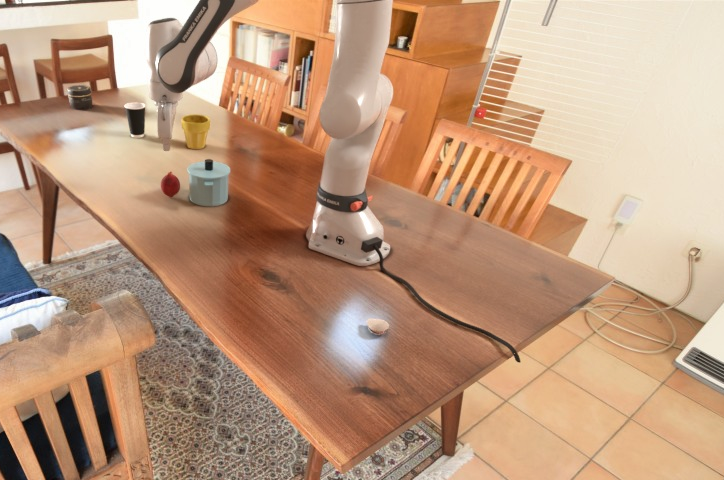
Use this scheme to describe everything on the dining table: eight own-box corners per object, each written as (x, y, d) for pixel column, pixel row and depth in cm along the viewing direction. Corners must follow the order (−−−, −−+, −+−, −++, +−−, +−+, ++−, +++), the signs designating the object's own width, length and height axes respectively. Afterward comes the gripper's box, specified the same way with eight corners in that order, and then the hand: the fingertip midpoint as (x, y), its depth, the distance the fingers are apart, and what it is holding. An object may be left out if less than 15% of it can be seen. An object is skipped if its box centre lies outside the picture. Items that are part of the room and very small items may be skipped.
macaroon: (377, 340, 100) (380, 330, 98) (358, 327, 103) (361, 317, 101) (390, 332, 102) (394, 323, 100) (372, 320, 105) (375, 310, 103)
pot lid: (229, 164, 148) (229, 152, 146) (230, 181, 139) (231, 169, 136) (188, 164, 148) (187, 152, 146) (186, 181, 138) (186, 168, 136)
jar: (86, 102, 220) (83, 83, 215) (97, 107, 215) (94, 88, 210) (66, 105, 216) (62, 86, 210) (76, 111, 210) (73, 92, 205)
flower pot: (214, 149, 180) (214, 121, 173) (187, 152, 177) (186, 124, 170) (204, 140, 187) (204, 113, 180) (178, 142, 184) (177, 115, 177)
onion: (177, 202, 146) (176, 176, 140) (159, 200, 146) (157, 174, 141) (182, 194, 150) (181, 168, 145) (164, 192, 151) (163, 166, 145)
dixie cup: (151, 136, 188) (149, 106, 181) (133, 140, 185) (130, 109, 177) (141, 130, 193) (139, 101, 186) (123, 134, 189) (120, 104, 182)
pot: (227, 186, 155) (227, 160, 150) (228, 210, 142) (229, 183, 137) (190, 186, 155) (189, 159, 149) (188, 210, 142) (188, 182, 136)
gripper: (175, 102, 121) (177, 158, 130) (179, 81, 136) (180, 132, 146) (150, 101, 121) (153, 157, 130) (156, 80, 136) (159, 131, 145)
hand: (167, 144), depth 138 cm, fingers open, 8 cm apart
